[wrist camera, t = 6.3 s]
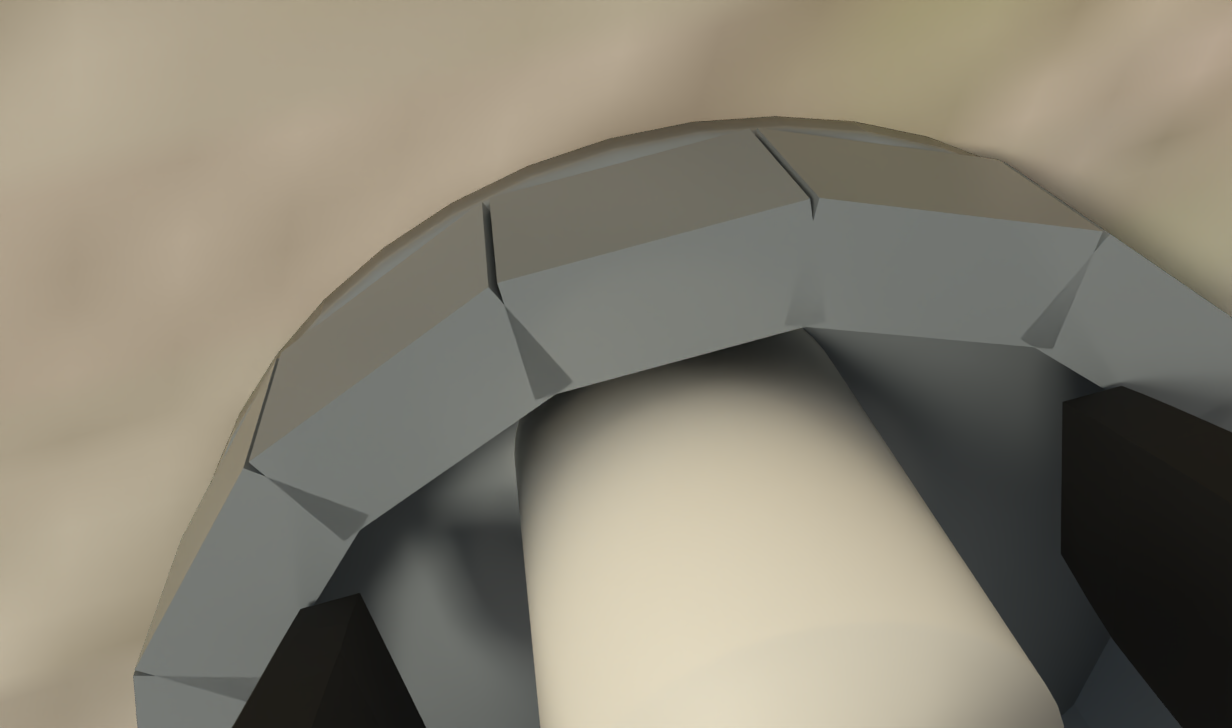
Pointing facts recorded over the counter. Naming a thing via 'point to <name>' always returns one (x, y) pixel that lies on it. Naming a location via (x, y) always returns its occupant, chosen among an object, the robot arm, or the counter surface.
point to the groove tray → (658, 335)
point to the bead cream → (748, 560)
